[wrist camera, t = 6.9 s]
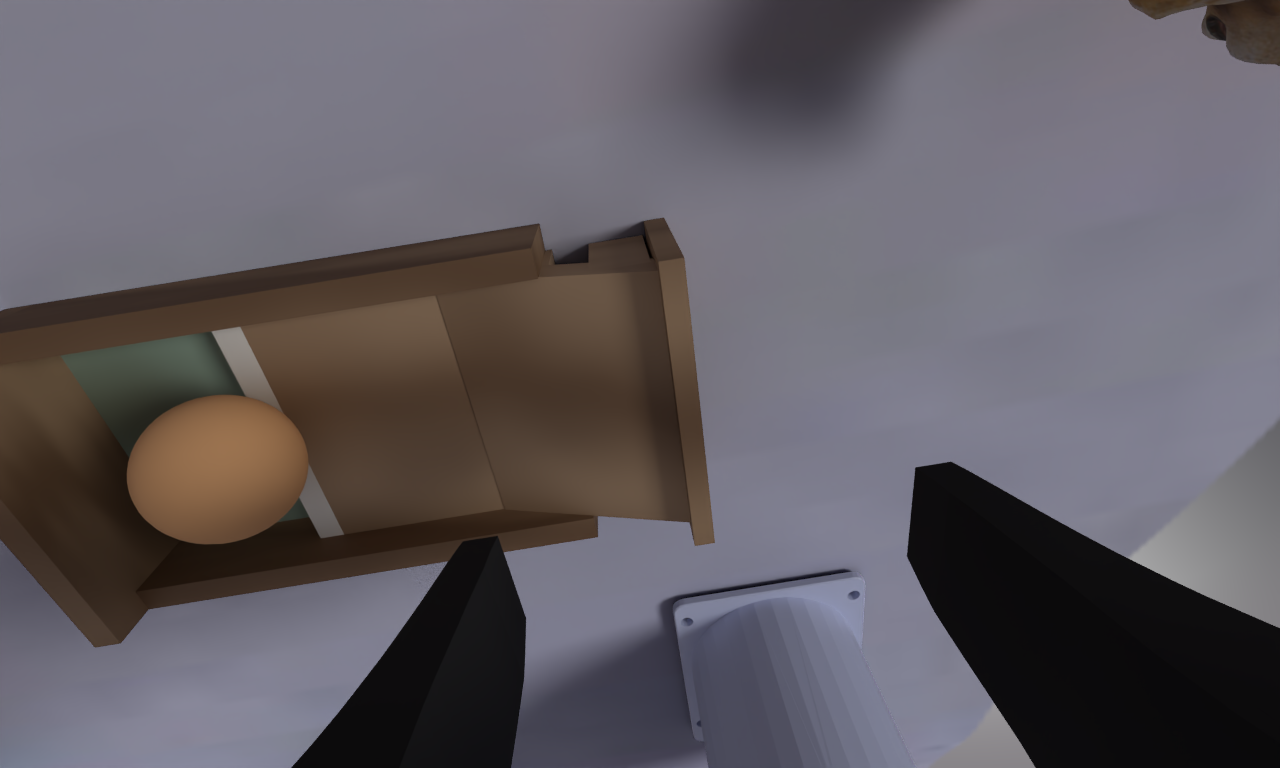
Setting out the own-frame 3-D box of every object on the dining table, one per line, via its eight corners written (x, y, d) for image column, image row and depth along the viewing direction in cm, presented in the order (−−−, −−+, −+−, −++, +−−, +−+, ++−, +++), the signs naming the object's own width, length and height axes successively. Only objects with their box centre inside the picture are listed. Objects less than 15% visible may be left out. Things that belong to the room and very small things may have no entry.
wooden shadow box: (694, 470, 22) (715, 552, 18) (175, 553, 22) (90, 653, 18) (662, 204, 17) (682, 240, 13) (5, 308, 17) (-156, 375, 13)
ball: (271, 473, 19) (359, 490, 18) (144, 560, 16) (237, 591, 15) (213, 365, 17) (305, 373, 16) (56, 440, 14) (151, 461, 13)
